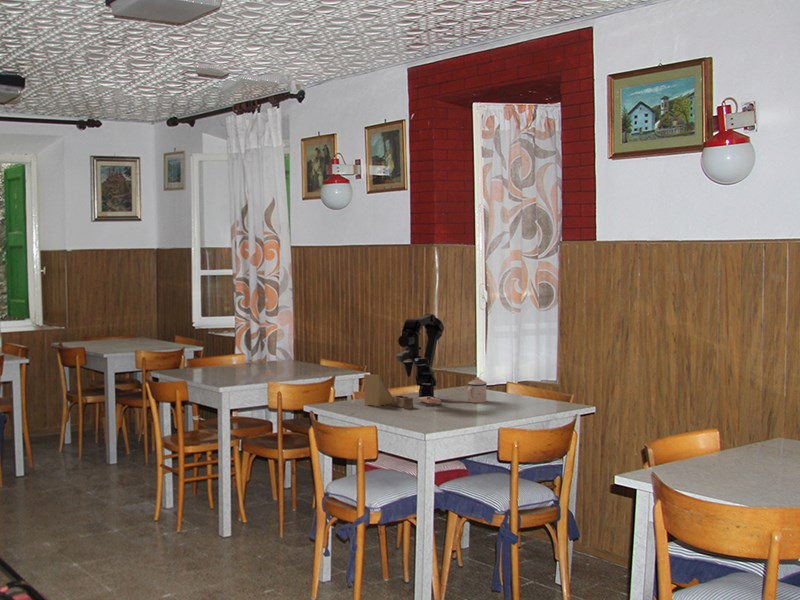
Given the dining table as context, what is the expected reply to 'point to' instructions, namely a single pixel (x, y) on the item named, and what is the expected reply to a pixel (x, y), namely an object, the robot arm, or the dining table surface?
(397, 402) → the tea box
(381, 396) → the sandwich container
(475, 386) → the white printed mug
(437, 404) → the coaster
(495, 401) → the dining table surface
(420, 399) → the lid
